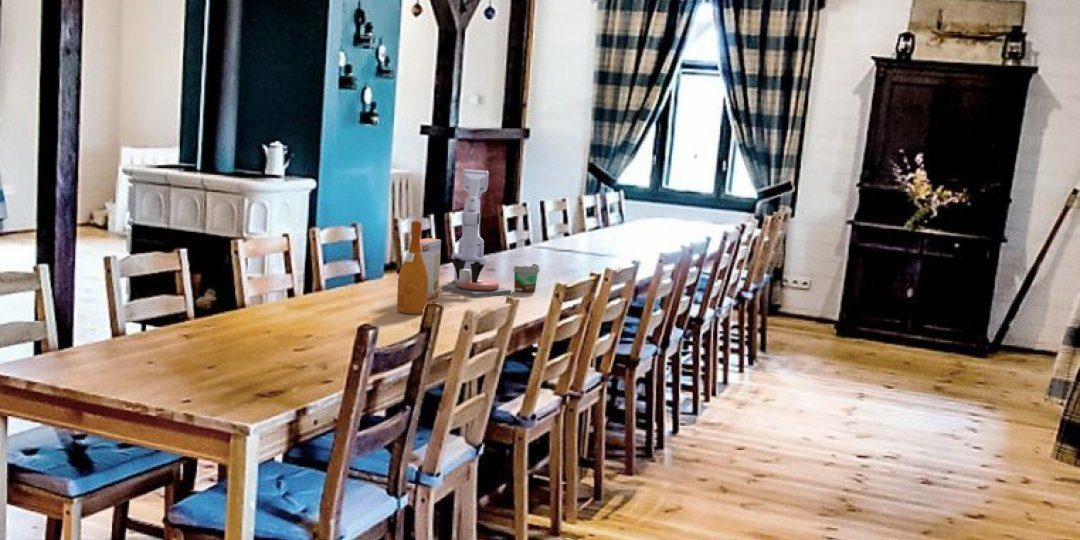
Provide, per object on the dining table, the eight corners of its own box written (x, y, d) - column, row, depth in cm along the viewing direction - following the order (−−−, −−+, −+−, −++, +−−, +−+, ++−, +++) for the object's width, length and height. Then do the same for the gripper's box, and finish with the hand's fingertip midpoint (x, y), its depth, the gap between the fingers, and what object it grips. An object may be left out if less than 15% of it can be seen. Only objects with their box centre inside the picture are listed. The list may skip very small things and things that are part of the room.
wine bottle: (392, 309, 360) (397, 218, 356) (421, 309, 364) (426, 219, 360) (401, 315, 352) (406, 222, 347) (430, 315, 356) (435, 223, 351)
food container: (524, 294, 407) (526, 268, 405) (511, 292, 410) (513, 265, 409) (544, 291, 416) (546, 265, 415) (531, 289, 420) (533, 263, 419)
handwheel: (481, 281, 416) (482, 264, 416) (507, 288, 405) (508, 271, 404) (446, 283, 406) (448, 266, 405) (472, 291, 394) (474, 273, 393)
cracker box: (423, 295, 390) (427, 237, 387) (438, 297, 388) (442, 239, 385) (404, 300, 377) (408, 240, 374) (420, 303, 375) (423, 242, 372)
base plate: (442, 289, 406) (442, 285, 405) (478, 286, 418) (479, 282, 418) (474, 297, 393) (474, 293, 393) (510, 294, 406) (511, 290, 405)
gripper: (447, 242, 399) (444, 278, 401) (478, 247, 391) (475, 285, 393) (459, 241, 405) (457, 277, 407) (490, 246, 397) (487, 283, 399)
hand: (467, 281), depth 400 cm, fingers open, 6 cm apart
